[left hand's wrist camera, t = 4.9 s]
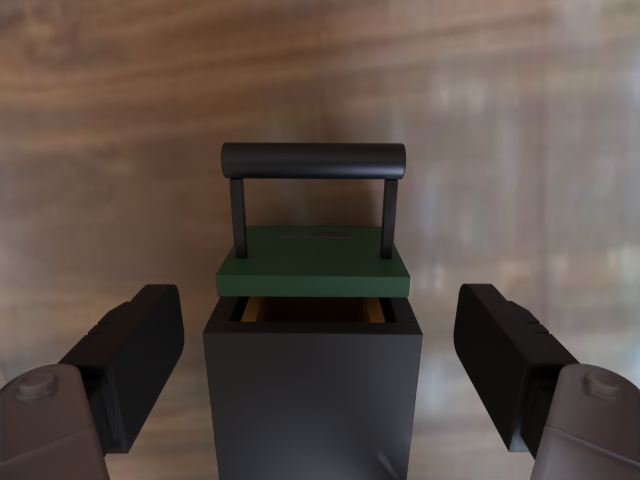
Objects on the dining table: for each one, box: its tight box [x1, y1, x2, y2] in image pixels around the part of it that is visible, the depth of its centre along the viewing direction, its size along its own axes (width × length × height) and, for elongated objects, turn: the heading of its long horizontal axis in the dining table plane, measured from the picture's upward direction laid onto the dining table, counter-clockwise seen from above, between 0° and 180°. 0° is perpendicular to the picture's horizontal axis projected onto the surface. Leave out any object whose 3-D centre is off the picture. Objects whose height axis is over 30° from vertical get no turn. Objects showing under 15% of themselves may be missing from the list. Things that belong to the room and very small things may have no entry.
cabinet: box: [203, 296, 423, 480], centre depth 27 cm, size 21×11×10 cm, turn 0°
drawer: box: [216, 142, 410, 322], centre depth 25 cm, size 26×10×8 cm, turn 0°
